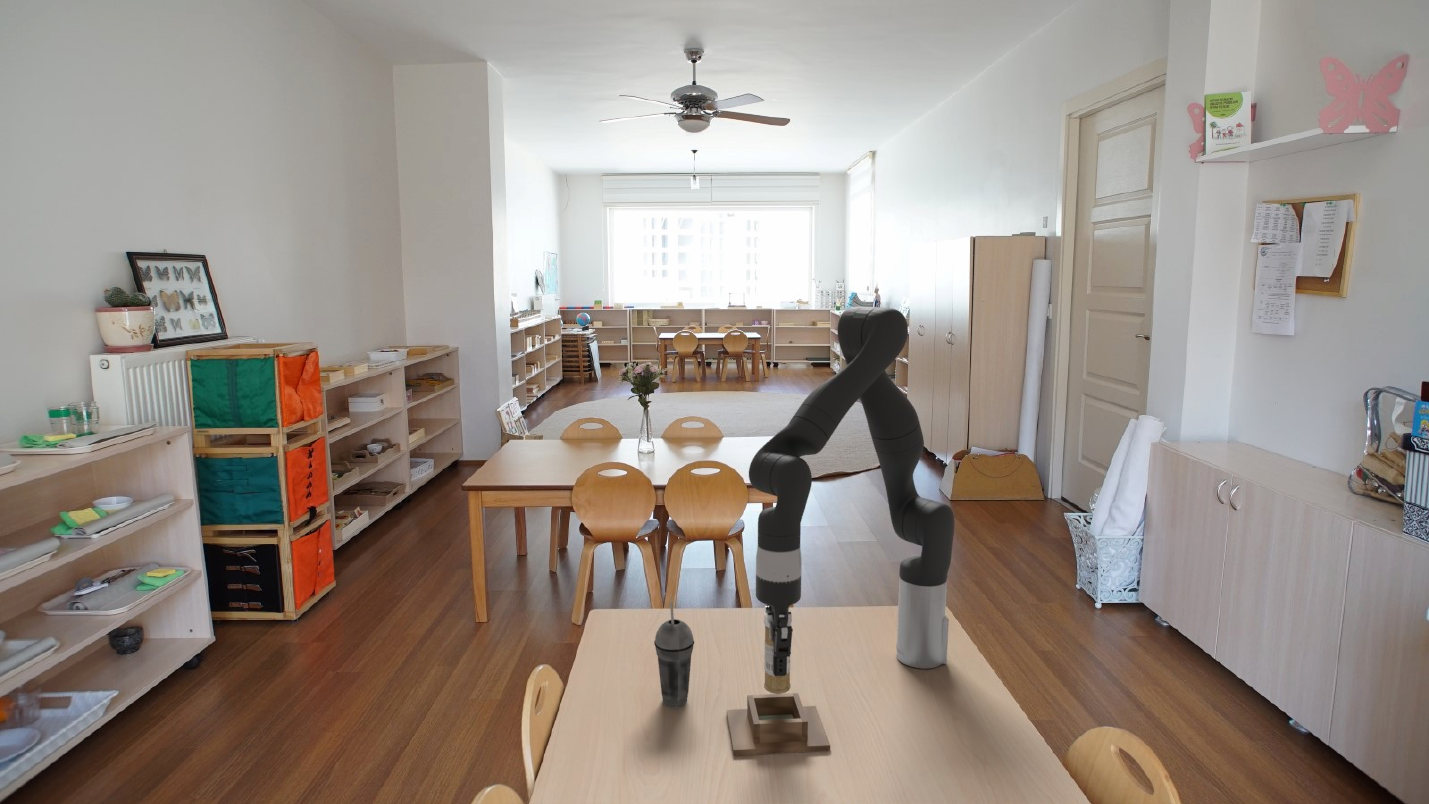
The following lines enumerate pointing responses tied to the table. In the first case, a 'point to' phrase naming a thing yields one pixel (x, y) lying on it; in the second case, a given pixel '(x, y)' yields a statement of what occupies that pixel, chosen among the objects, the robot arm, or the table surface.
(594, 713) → the table surface
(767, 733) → the wooden square holder
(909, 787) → the table surface
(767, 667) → the sprinkles bottle
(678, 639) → the beverage cup
